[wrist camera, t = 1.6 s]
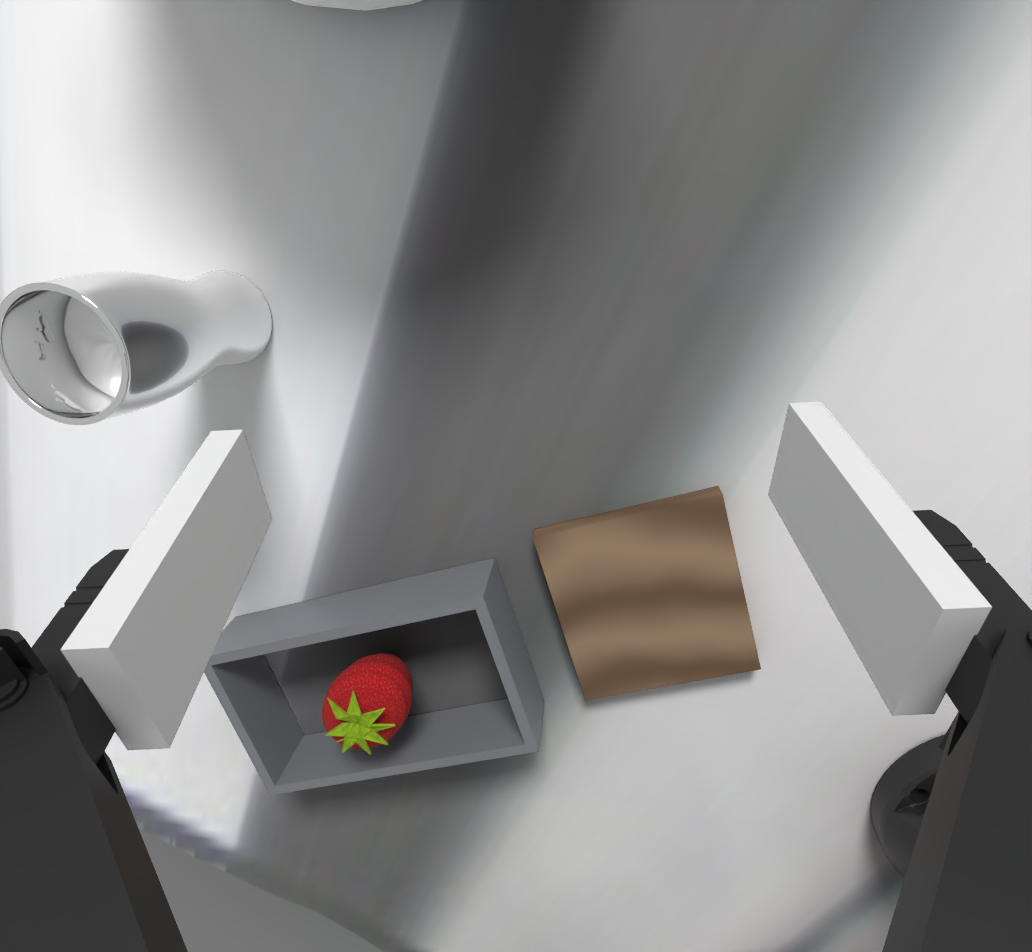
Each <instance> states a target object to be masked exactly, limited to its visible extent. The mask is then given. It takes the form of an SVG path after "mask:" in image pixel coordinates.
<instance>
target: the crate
mask: <svg viewBox="0 0 1032 952" xmlns="http://www.w3.org/2000/svg"><path fill="white" fill-rule="evenodd" d="M475 609H476V612H477V615H478V618H479V620H480V623H481V626H482V628H483V631H484V634H485V637H486V639H487V642H488V645H489V647H490V650H491V653H492V656H493V658H494V661H495V664H496V666H497V669H498V672H499V675H500V677H501V680H502V683H503V686H504V688H505V691H506V694H507V696H508V698H507V699H501V700H496V701H490V702H485V703H479V704H474V705H468V706H463V707H457V708H452V709H446V710H441V711H435V712H430V713H424V714H419V715H413V716H408V717H407V718H406V720H405V721H404V723H403V724H402V726H401V727H400V728H399V730H398V731H397V732H396V734H395V735H394V736H393V737H391V738H390V739H389V740H388V741H386V742H387V743H388V745H385V744H380V745H378V746H375V747H371V748H369V749H370V751H371V754H370V755H369V754H368V753H367V752H366V751H365V750H364V749H353V748H349V749H347V750H346V751H345V752H344V753H342V749H343V745H341V744H339V743H338V742H336V741H335V740H334V739H333V738H332V737H331V736H325V734H327V733H328V732H327V731H325V732H320V733H314V734H309V735H304V734H303V732H302V730H301V728H300V726H299V724H298V722H297V720H296V718H295V716H294V714H293V712H292V710H291V708H290V706H289V704H288V702H287V700H286V698H285V696H284V694H283V692H282V690H281V688H280V686H279V684H278V682H277V680H276V678H275V676H274V674H273V672H272V670H271V668H270V666H269V664H268V662H267V660H266V658H265V656H264V654H268V653H273V652H277V651H282V650H287V649H291V648H296V647H301V646H305V645H310V644H315V643H320V642H324V641H329V640H334V639H338V638H343V637H348V636H352V635H357V634H362V633H367V632H371V631H376V630H381V629H385V628H390V627H395V626H399V625H404V624H409V623H414V622H418V621H423V620H428V619H432V618H437V617H442V616H446V615H451V614H456V613H461V612H465V611H470V610H475ZM204 673H205V675H206V676H207V678H208V680H209V682H210V684H211V686H212V688H213V690H214V691H215V693H216V695H217V697H218V699H219V701H220V703H221V704H222V706H223V708H224V710H225V712H226V714H227V716H228V718H229V719H230V721H231V723H232V725H233V727H234V729H235V731H236V733H237V734H238V736H239V738H240V740H241V742H242V744H243V746H244V748H245V749H246V751H247V753H248V755H249V757H250V759H251V761H252V763H253V764H254V766H255V768H256V770H257V772H258V774H259V776H260V778H261V779H262V781H263V783H264V785H265V787H266V789H267V791H268V792H269V794H270V795H275V794H281V793H287V792H293V791H299V790H306V789H312V788H318V787H324V786H330V785H336V784H342V783H349V782H355V781H361V780H367V779H373V778H379V777H385V776H392V775H398V774H404V773H410V772H416V771H422V770H428V769H434V768H441V767H447V766H453V765H459V764H465V763H471V762H477V761H484V760H490V759H496V758H502V757H508V756H514V755H520V754H526V753H533V752H539V748H540V738H541V728H542V718H543V709H544V698H543V695H542V692H541V689H540V686H539V683H538V681H537V678H536V675H535V672H534V669H533V666H532V663H531V660H530V658H529V655H528V652H527V649H526V646H525V643H524V640H523V637H522V635H521V632H520V629H519V626H518V623H517V620H516V617H515V614H514V612H513V609H512V606H511V603H510V600H509V597H508V594H507V591H506V589H505V586H504V583H503V580H502V577H501V574H500V571H499V568H498V566H497V563H496V560H495V558H492V559H487V560H483V561H479V562H474V563H470V564H466V565H461V566H457V567H452V568H448V569H444V570H439V571H435V572H431V573H426V574H422V575H417V576H413V577H409V578H404V579H400V580H395V581H391V582H387V583H382V584H378V585H374V586H369V587H365V588H360V589H356V590H352V591H347V592H343V593H338V594H334V595H330V596H325V597H321V598H317V599H312V600H308V601H303V602H299V603H295V604H290V605H286V606H281V607H277V608H273V609H268V610H264V611H260V612H255V613H251V614H246V615H242V616H238V617H235V618H234V619H233V620H232V621H231V622H230V624H229V625H228V626H227V627H226V628H225V629H224V630H223V631H222V632H221V634H220V637H219V639H218V641H217V643H216V646H215V648H214V650H213V652H212V654H211V657H210V659H209V661H208V663H207V666H206V668H205V670H204Z"/></svg>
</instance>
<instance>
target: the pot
mask: <svg viewBox="0 0 1032 952" xmlns="http://www.w3.org/2000/svg"><path fill="white" fill-rule="evenodd" d="M291 1H294V2H297V3H300V4H303V5H310V6H321V7H332V8H342V9H353V10H364V11H368V10H375V9H382V8H389V7H396V6H402V5H409V4H414V3H417V2H419V1H422V0H291Z"/></svg>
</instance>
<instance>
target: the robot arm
mask: <svg viewBox="0 0 1032 952" xmlns="http://www.w3.org/2000/svg"><path fill="white" fill-rule="evenodd" d="M768 496H769V497H770V499H771V501H772V503H773V505H774V506H775V508H776V510H777V512H778V513H779V515H780V517H781V519H782V521H783V522H784V524H785V526H786V528H787V530H788V531H789V533H790V535H791V537H792V538H793V540H794V542H795V544H796V546H797V547H798V549H799V551H800V553H801V554H802V556H803V558H804V560H805V562H806V563H807V565H808V567H809V569H810V570H811V572H812V574H813V576H814V578H815V579H816V581H817V583H818V585H819V586H820V588H821V590H822V592H823V594H824V595H825V597H826V599H827V601H828V602H829V604H830V606H831V608H832V610H833V611H834V613H835V615H836V617H837V618H838V620H839V622H840V624H841V626H842V627H843V629H844V631H845V633H846V635H847V636H848V638H849V640H850V642H851V643H852V645H853V647H854V649H855V651H856V652H857V654H858V656H859V658H860V659H861V661H862V663H863V665H864V667H865V668H866V670H867V672H868V674H869V675H870V677H871V679H872V681H873V683H874V684H875V686H876V688H877V690H878V691H879V693H880V695H881V697H882V699H883V700H884V702H885V704H886V706H887V707H888V709H889V711H890V713H891V715H892V716H895V715H918V714H935V712H936V710H937V708H938V706H939V705H940V703H941V701H942V699H943V697H944V695H945V693H947V694H948V696H949V697H950V699H951V700H952V702H953V703H954V705H955V706H956V708H957V709H958V711H959V712H958V714H957V715H956V717H955V719H954V721H953V722H952V724H951V726H950V728H949V729H948V731H947V733H946V735H942V736H939V737H937V738H934V739H931V740H929V741H927V742H925V743H923V744H921V745H919V746H917V747H915V748H913V749H912V750H910V751H909V752H907V753H906V754H905V755H903V756H902V757H901V758H899V759H898V760H897V761H896V762H895V763H894V764H893V765H892V766H891V767H890V768H889V769H888V770H887V771H886V773H885V774H884V775H883V777H882V778H881V780H880V781H879V783H878V785H877V787H876V790H875V792H874V795H873V799H872V804H871V818H872V823H873V827H874V830H875V832H876V834H877V837H878V839H879V841H880V843H881V845H882V847H883V849H884V851H885V853H886V855H887V857H888V859H889V860H890V862H891V863H892V865H893V866H894V867H895V869H896V870H897V871H898V872H899V874H900V875H901V876H902V877H903V878H904V882H903V886H902V889H901V892H900V896H899V899H898V902H897V905H896V909H895V912H894V915H893V918H892V922H891V925H890V928H889V932H888V935H887V938H886V941H885V945H884V948H883V951H882V952H1032V610H1031V609H1030V608H1029V607H1028V606H1027V605H1026V604H1025V602H1024V601H1023V600H1022V599H1021V598H1020V597H1019V596H1018V595H1017V593H1016V592H1015V591H1014V590H1013V589H1012V588H1011V587H1010V586H1009V585H1008V583H1007V582H1006V581H1005V580H1004V579H1003V578H1002V577H1001V576H1000V575H999V573H998V572H997V571H996V570H995V569H994V568H993V567H992V566H991V564H990V563H986V561H985V558H984V557H983V556H982V554H981V553H980V552H979V551H978V550H977V549H976V548H973V547H972V543H971V542H970V541H969V540H968V539H967V538H966V537H965V535H964V534H963V533H962V532H961V531H960V530H959V529H958V528H957V526H956V525H954V524H952V523H951V522H949V521H948V520H946V519H945V518H943V517H941V516H940V515H938V514H937V513H935V512H934V511H932V510H920V511H912V510H911V509H910V508H909V507H908V505H907V504H906V503H905V502H904V501H903V499H902V498H901V497H900V496H899V495H898V493H897V492H896V491H895V490H894V489H893V487H892V486H891V485H890V484H889V483H888V481H887V480H886V479H885V478H884V477H883V475H882V474H881V473H880V472H879V471H878V469H877V468H876V467H875V466H874V465H873V463H872V462H871V461H870V460H869V459H868V457H867V456H866V455H865V454H864V453H863V451H862V450H861V449H860V448H859V447H858V445H857V444H856V443H855V442H854V441H853V439H852V438H851V437H850V436H849V435H848V433H847V432H846V431H845V430H844V429H843V427H842V426H841V425H840V424H839V423H838V421H837V420H836V419H835V418H834V417H833V415H832V414H831V413H830V412H829V411H828V409H827V408H826V407H825V406H824V405H823V403H822V402H804V403H789V405H788V410H787V414H786V419H785V423H784V427H783V432H782V436H781V441H780V445H779V450H778V454H777V458H776V463H775V467H774V472H773V476H772V481H771V485H770V490H769V494H768ZM271 521H272V516H271V513H270V510H269V507H268V504H267V501H266V498H265V495H264V492H263V489H262V486H261V483H260V480H259V477H258V474H257V471H256V468H255V465H254V462H253V459H252V456H251V453H250V450H249V446H248V443H247V440H246V437H245V434H244V431H243V430H222V431H211V432H210V433H209V435H208V436H207V438H206V439H205V441H204V442H203V444H202V445H201V447H200V448H199V449H198V451H197V452H196V454H195V455H194V457H193V458H192V460H191V461H190V462H189V464H188V465H187V467H186V468H185V470H184V471H183V473H182V474H181V476H180V477H179V478H178V480H177V481H176V483H175V484H174V486H173V487H172V489H171V490H170V491H169V493H168V494H167V496H166V497H165V499H164V500H163V502H162V503H161V505H160V506H159V507H158V509H157V510H156V512H155V513H154V515H153V516H152V518H151V519H150V521H149V522H148V523H147V525H146V526H145V528H144V529H143V531H142V532H141V534H140V535H139V536H138V538H137V539H136V541H135V542H134V544H133V545H132V547H131V548H130V549H123V550H113V551H111V552H110V553H109V554H108V555H106V556H105V557H104V558H102V559H101V560H100V561H99V562H97V563H96V564H95V565H93V566H92V567H91V568H90V569H89V571H88V572H87V573H86V575H85V576H84V577H83V579H82V580H81V581H80V583H79V584H78V585H77V587H76V591H73V592H72V594H71V595H70V596H69V598H68V599H67V600H66V602H65V603H64V604H65V606H64V607H62V608H61V609H60V610H59V611H58V613H57V614H56V615H55V617H54V618H53V619H52V621H51V622H50V623H49V625H48V626H47V628H46V629H45V630H44V632H43V633H42V634H41V636H40V637H39V638H38V640H37V641H36V642H35V644H34V645H33V647H32V648H31V647H30V646H29V644H28V643H27V641H26V640H25V639H24V637H23V636H22V635H21V634H20V633H19V632H18V631H13V630H8V629H1V630H0V952H187V949H186V946H185V944H184V941H183V939H182V936H181V934H180V931H179V929H178V926H177V924H176V921H175V919H174V916H173V914H172V911H171V909H170V906H169V904H168V901H167V899H166V896H165V894H164V891H163V889H162V886H161V884H160V881H159V879H158V876H157V874H156V871H155V869H154V866H153V864H152V862H151V859H150V856H149V854H148V851H147V849H146V846H145V844H144V841H143V839H142V836H141V834H140V832H139V829H138V827H137V824H136V822H135V819H134V817H133V814H132V812H131V809H130V807H129V804H128V802H127V799H126V797H125V794H124V792H123V789H122V787H121V784H120V782H119V779H118V777H117V774H116V772H115V769H114V767H113V764H112V762H111V760H110V758H109V757H108V756H107V754H106V753H105V749H106V747H107V745H108V743H109V741H110V739H111V738H112V736H113V734H114V732H116V734H117V735H118V736H119V738H120V739H121V741H122V742H123V744H124V745H125V747H126V748H127V750H141V749H163V748H170V746H171V744H172V741H173V739H174V737H175V735H176V733H177V730H178V728H179V726H180V724H181V721H182V719H183V717H184V715H185V712H186V710H187V708H188V706H189V704H190V701H191V699H192V697H193V695H194V692H195V690H196V688H197V686H198V683H199V681H200V679H201V677H202V675H203V672H204V670H205V668H206V666H207V663H208V661H209V659H210V657H211V654H212V652H213V650H214V648H215V646H216V643H217V641H218V639H219V637H220V634H221V632H222V630H223V628H224V625H225V623H226V621H227V619H228V617H229V614H230V612H231V610H232V608H233V605H234V603H235V601H236V599H237V596H238V594H239V592H240V590H241V588H242V585H243V583H244V581H245V579H246V576H247V574H248V572H249V570H250V567H251V565H252V563H253V561H254V559H255V556H256V554H257V552H258V550H259V547H260V545H261V543H262V541H263V538H264V536H265V534H266V532H267V530H268V527H269V525H270V523H271Z"/></svg>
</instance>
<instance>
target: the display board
mask: <svg viewBox="0 0 1032 952" xmlns="http://www.w3.org/2000/svg"><path fill="white" fill-rule="evenodd" d="M533 540H534V543H535V547H536V550H537V553H538V556H539V559H540V562H541V565H542V568H543V571H544V574H545V577H546V580H547V584H548V587H549V590H550V593H551V596H552V599H553V602H554V605H555V608H556V611H557V614H558V617H559V621H560V624H561V627H562V630H563V633H564V636H565V639H566V642H567V645H568V648H569V651H570V654H571V658H572V661H573V664H574V667H575V670H576V673H577V676H578V679H579V682H580V685H581V688H582V691H583V694H584V698H585V700H590V699H595V698H601V697H607V696H612V695H618V694H624V693H629V692H635V691H641V690H646V689H652V688H658V687H663V686H669V685H674V684H680V683H686V682H691V681H697V680H703V679H708V678H714V677H720V676H725V675H731V674H737V673H742V672H748V671H754V670H759V669H761V668H760V663H759V659H758V654H757V649H756V645H755V640H754V636H753V631H752V627H751V622H750V618H749V613H748V609H747V604H746V599H745V595H744V590H743V586H742V581H741V577H740V572H739V568H738V563H737V559H736V554H735V549H734V545H733V540H732V536H731V531H730V527H729V522H728V518H727V513H726V509H725V504H724V499H723V495H722V493H721V491H720V489H719V487H718V486H716V487H712V488H708V489H703V490H699V491H695V492H691V493H686V494H682V495H678V496H674V497H669V498H665V499H661V500H657V501H652V502H648V503H644V504H639V505H635V506H631V507H627V508H622V509H618V510H614V511H610V512H605V513H601V514H597V515H593V516H588V517H584V518H580V519H575V520H571V521H567V522H563V523H558V524H554V525H550V526H546V527H541V528H537V529H534V534H533Z"/></svg>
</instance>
